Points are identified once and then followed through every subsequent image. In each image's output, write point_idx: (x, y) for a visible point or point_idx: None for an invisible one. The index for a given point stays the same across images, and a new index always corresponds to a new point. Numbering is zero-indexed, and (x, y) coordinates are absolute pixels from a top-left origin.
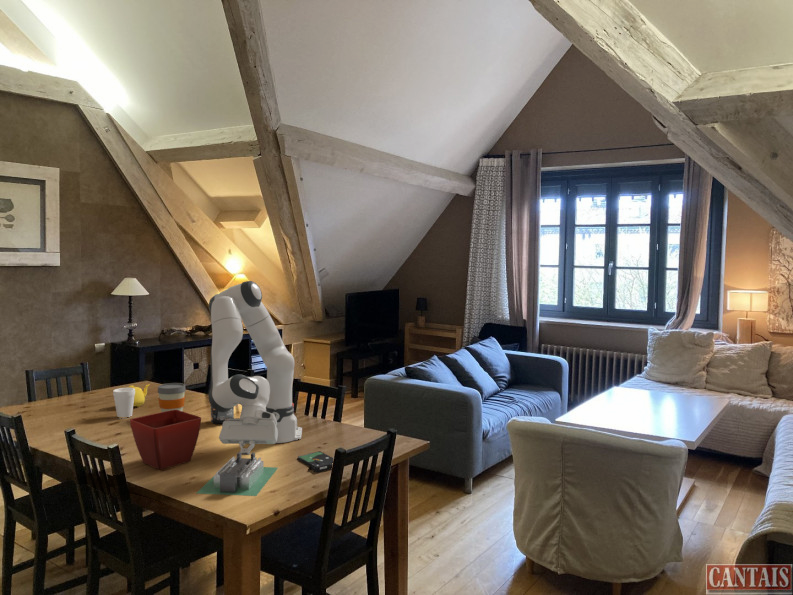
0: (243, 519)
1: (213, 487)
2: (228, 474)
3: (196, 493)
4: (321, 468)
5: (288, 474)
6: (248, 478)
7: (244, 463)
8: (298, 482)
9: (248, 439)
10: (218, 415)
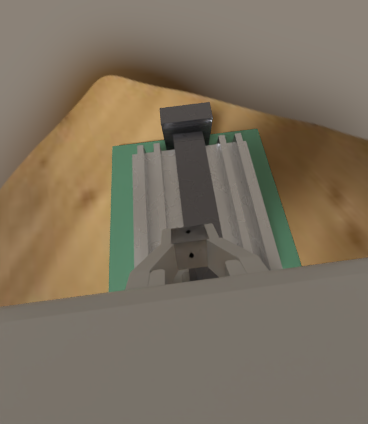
0: (112, 79)
1: None
2: (182, 108)
3: (255, 129)
4: None
5: None
6: (134, 156)
7: None
8: (26, 273)
9: (173, 284)
10: None
